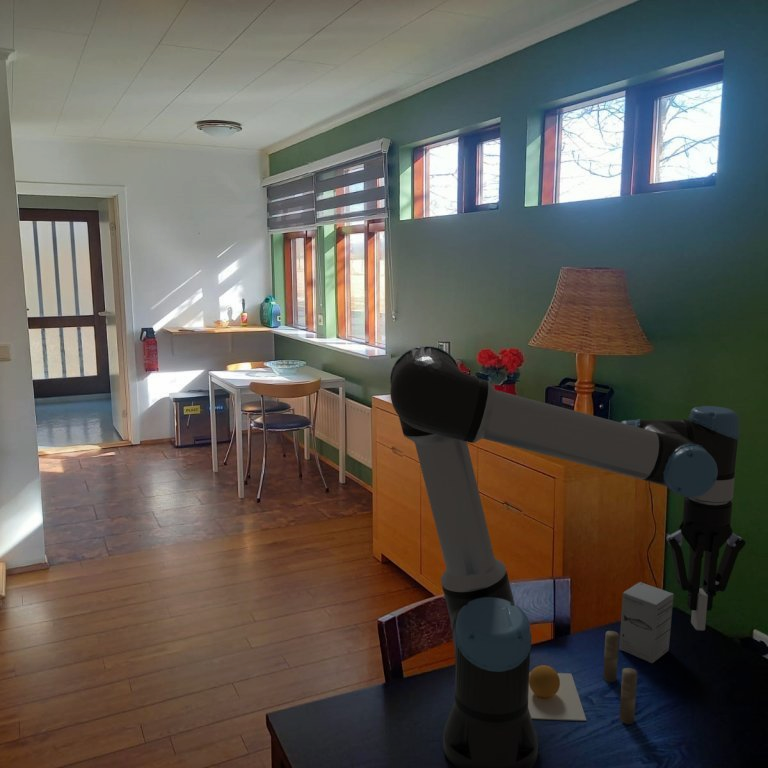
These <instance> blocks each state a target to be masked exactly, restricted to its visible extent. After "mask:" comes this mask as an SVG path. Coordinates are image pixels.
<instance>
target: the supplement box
mask: <svg viewBox="0 0 768 768" xmlns="http://www.w3.org/2000/svg"><path fill="white" fill-rule="evenodd" d="M674 596H675V594H674V593H673V592H671V591H670V592H669V591H667V590H665V589H661V588H659V587H656V586H652V585H649V584H646V583H644V582H642V581H639V582H637V583H636V584H634V585H632V586H631V587H629V588H627V589H626V590H624V592H622V602H621V604H622V605H621V615H620V616H621V617H620V628H619V629H620V632H619V645H618V651H621V652H622V651H623V652H625V653H628V654H630V655H632V656H635V657H636V658H639V659H641V660H644V661H646V662H648V663H649V664H654V663H655V662H657V660H659V659H660V658H661V657H663V656H664V655H665V654H666V653H667V652H669V649H670V638H671V627H672V617H673V616H672V615H673V605H674V604H673V603H674Z"/></svg>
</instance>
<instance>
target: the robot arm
mask: <svg viewBox="0 0 768 768" xmlns="http://www.w3.org/2000/svg"><path fill="white" fill-rule="evenodd" d="M389 381H390V382H389V383H390V401H391V404H392V407H393V409H394V410H395V413H396V414H397V415H398V419H399V422H400V427H401V430H402V433H403V436H404V437H405V438H406V439H408V440H410V441H412V442H413V443H414V445H415V449H416V453H417V458H418V461H419V464H420V469H421V473H422V477H423V481H424V484H425V488H426V492H427V496H428V500H429V501H428V502H429V504H430V509H431V513H432V517H433V520H434V524H435V529H436V533H437V537H438V541H439V544H440V549H441V552H442V553H441V554H442V556H443V560H444V565H445V568H446V569H445V570H444V572H443V573H442V574H441V577H440V583H441V587H442V592H443V594H444V599H445V604H446V608H447V612H448V616H449V620H450V625H451V632H452V633H451V634H452V642H453V649H454V662H455V663H454V666H455V669H454V673H455V674H454V700H453V705H452V708H451V710H450V713H449V715H448V717H447V720H446V722H445V725H444V728H443V737H442V739H443V740H442V742H443V744H442V745H443V746H442V748H443V751H444V755H445V756H446V757H447V759H448V760H449V762H450V763H451V764H452V765H453V766H454V767H455V768H533V767H534V766H535V764H536V761H537V759H538V750H539V749H538V747H539V740H538V735H537V732H536V728H535V725H534V722H533V719H531V715H530V712H529V709H528V693H529V672H530V666H531V665H530V664H531V663H530V662H531V661H530V660H531V649H532V641H533V640H532V639H533V638H532V630H531V624H530V620H529V618H528V616H527V614H526V612H525V611H524V610H523V609H522V608H521V607H519V606H518V605H516V604H515V601H514V595H513V592H512V588H511V584H510V581H509V576H508V571H507V567H506V564H505V563H504V562H503V561H501V560H499V559H498V558H495V554H494V550H493V545H492V542H491V537H490V532H489V529H488V525H487V521H486V517H485V513H484V508H483V505H482V501H481V500H482V499H481V496H480V493H479V492H480V491H479V487H478V483H477V479H476V473H475V471H474V467H473V462H472V458H471V453H470V450H469V445H468V443H470V444H474V443H476V442H479V441H480V440H486V441H490V442H495V443H498V444H503V445H505V446H509V447H510V446H511V447H514V448H518V449H521V450H524V451H525V450H526V451H529V452H533V453H537V454H540V455H544V456H549V457H554V458H557V459H561V460H565V461H568V462H572V463H575V464H580V465H584V466H588V467H592V468H596V469H600V470H604V471H607V472H611V473H614V474H620V475H622V476H627V477H630V478H635V479H639V480H642V481H645V482H648V483H653V484H656V485H660V486H663V487H666V488H667V489H668V490H670V491H671V492H672V493H674V494H677V495H678V496H681V497H683V510H682V521H681V524H680V525H679V527H678V530H676V531H675V532H673V533H671V532H668V533H666V534H665V540H666V541H667V542H668V545H669V546H670V551H671V556H672V563H673V566H674V571H675V577H676V582H677V584H678V585H679V587H680V589H681V590H682V591H687V601H686V604H687V608H689V610H690V611H691V618H690V623H691V625H692V626H693V629H695V630H696V631H705V630H706V624H707V622H706V620H707V611H708V612H710V611H712V610H713V602H714V597H716V596H717V592H724V591H725V590H726V589H727V586H728V583H729V580H730V578H731V576H732V572H733V570H734V566H735V564H736V560H737V559H738V555H739V553H740V552H741V550H742V549H743V548H744V547H745V546H746V541H745V539H743V538H742V537H741V535H739V534H735V533H734V532H733V529H732V527H731V522H732V511H733V502H732V501H731V500H733V499H734V488H735V475H736V474H735V472H736V464H737V463H736V462H737V453H738V452H737V451H738V445H739V444H738V443H739V440H740V422H739V421H740V419H739V414H738V413H737V412H736V411H735V410H732V409H730V408H727V407H723V406H722V407H721V406H715V405H714V406H713V405H702V406H695V407H693V408H691V410H690V412H689V413H690V414H689V416H688V418H687V419H679V420H678V419H673V420H671V419H641V418H638V419H628V420H622V421H620V422H619V421H615V420H611V419H608V418H604V417H600V416H597V415H592V414H589V413H585V412H581V411H578V410H577V411H576V410H574V409H570V408H566V407H562V406H557V405H554V404H550V403H546V402H544V401H539V400H534V399H531V398H527V397H524V396H520V395H516V394H512V393H509V392H504V391H501V390H497V389H495V388H494V386H493V384H491V382H490V381H489V380H485V379H482V378H478V377H476V376H473V375H470V374H469V373H466V372H464V371H461V370H460V368H459V365H458V364H457V361H456V360H455V359H454V357H453V356H452V354H449V352H447V351H445V350H443V349H441V348H439V347H435V346H432V345H431V346H430V345H421V346H416V347H413V348H411V349H409V350H407V351H406V352H404V353H402V355H401V356H399V358H398V359H396V361H395V363H394V365H393V366H392V369H391V372H390V380H389ZM683 539H684V540H685V541H686V543H687V545H688V546H689V548H688V550H689V559H688V570H686V564H685V559H684V558H685V557H684V553H683V549H682V547H681V546H682V545H683ZM725 544H726V545H725ZM723 545H725V547H724V550H723V553H722V555H721V559H720V561H719V565H718V559H719V558H720V549H721V548H722V547H723ZM703 558H704V562H703ZM702 563H703V575H702V574H701V573H702ZM701 576H702V587H703V588H700V587H701Z"/></svg>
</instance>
